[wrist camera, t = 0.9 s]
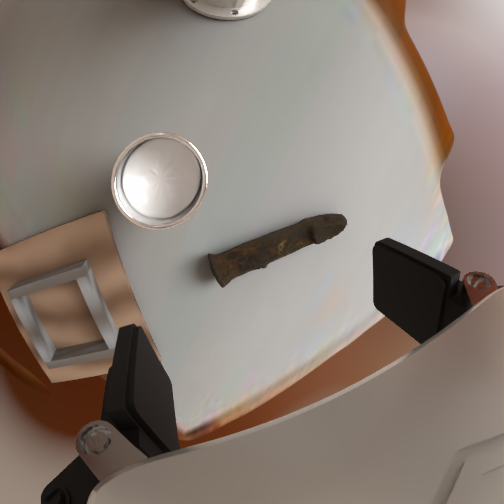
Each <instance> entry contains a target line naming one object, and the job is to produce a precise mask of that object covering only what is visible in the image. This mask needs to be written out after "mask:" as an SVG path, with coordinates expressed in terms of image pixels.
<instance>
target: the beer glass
mask: <svg viewBox="0 0 504 504" xmlns="http://www.w3.org/2000/svg"><path fill="white" fill-rule="evenodd" d="M207 186H208V173H207V168H206V164H205V161H204V159H203V157H202V155H201V153H200V152H199V151H198V149H197V148H196V147H195V146H194V145H193V144H192V143H191V142H189V141H188V140H187V139H185V138H183V137H181V136H179V135H176V134H172V133H167V132H156V133H150V134H147V135H144V136H141V137H139V138H137V139H136V140H134V141H133V142H131V143H130V144H129V145H128V146H127V147H126V148H125V149H124V150H123V151H122V152H121V154H120V155H119V157H118V158H117V160H116V162H115V165H114V168H113V171H112V177H111V189H112V195H113V198H114V201H115V203H116V205H117V207H118V209H119V210H120V212H121V213H122V214H123V215H124V216H125V217H126V218H127V219H128V220H129V221H131V222H132V223H134V224H136V225H137V226H140V227H142V228H146V229H151V230H165V229H170V228H173V227H176V226H178V225H180V224H182V223H184V222H185V221H187V220H188V219H189V218H190V217H192V216H193V215H194V213H195V212H196V211H197V210H198V209H199V207H200V205H201V204H202V202H203V200H204V197H205V195H206V191H207Z"/></svg>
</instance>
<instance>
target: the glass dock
mask: <svg viewBox="0 0 504 504" xmlns="http://www.w3.org/2000/svg"><path fill="white" fill-rule="evenodd" d="M0 291H1V294H2V296H3V298H4V300H5V302H6V305H7V307H8V309H9V311H10V313H11V315H12V317H13V319H14V321H15V323H16V325H17V327H18V328H19V330H20V332H21V334H22V336H23V337H24V339H25V341H26V343H27V344H28V346H29V348H30V350H31V351H32V353H33V354H34V356H35V358H36V359H37V361H38V362H39V364H40V366H41V367H42V368H43V370H44V372H45V373H46V375H47V376H48V378H49V379H50V380H51V382H52V383H56V382H62V381H69V380H75V379H80V378H86V377H92V376H97V375H102V374H107V373H108V370H109V368H110V367H111V366H112V362H113V356H114V351H115V346H116V341H117V336H118V331H119V328H120V327H123V326H126V325H130V324H133V323H134V324H135V325H136V326H141V327H142V328H143V330H144V332H145V334H146V336H147V338H148V340H149V342H150V344H151V346H152V348H153V349H154V351H155V353H156V355H157V357H158V359H159V361H160V362H161V356H160V354H159V352H158V350H157V348H156V346H155V343H154V341H153V339H152V337H151V335H150V332H149V330H148V328H147V325H146V323H145V321H144V319H143V316H142V314H141V311H140V309H139V307H138V304H137V302H136V299H135V297H134V294H133V291H132V289H131V286H130V284H129V281H128V278H127V275H126V273H125V270H124V267H123V264H122V261H121V259H120V256H119V253H118V250H117V247H116V244H115V240H114V237H113V234H112V231H111V228H110V224H109V221H108V217H107V214H106V210H102V211H99V212H96V213H93V214H90V215H87V216H85V217H82V218H79V219H76V220H73V221H71V222H68V223H65V224H62V225H60V226H57V227H54V228H52V229H49V230H47V231H44V232H42V233H39V234H37V235H34V236H32V237H29V238H27V239H24V240H22V241H20V242H17V243H15V244H13V245H10V246H8V247H6V248H4V249H1V250H0Z"/></svg>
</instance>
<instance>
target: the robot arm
mask: <svg viewBox="0 0 504 504" xmlns="http://www.w3.org/2000/svg"><path fill="white" fill-rule="evenodd" d="M183 1H184V2H185V4H186V5H187V6H189V7H190V8H191V9H192V10H194V11H196V12H198V13H199V14H202V15H204V16H207V17H210V18H215V19H221V20H239V19H245V18H248V17H251V16H254V15H256V14H258V13H260V12H261V11H262V10H263V9H265V8H266V6H267V5H268V4H269V2H270V1H271V0H183ZM233 14H234V15H233ZM459 277H460V271H459V270H457V269H455V268H453V267H451V266H449V265H447V264H445V263H442V262H441V261H439V260H436V259H434V258H432V257H430V256H428V255H426V254H424V253H422V252H419V251H417V250H415V249H413V248H411V247H408V246H406V245H404V244H402V243H400V242H397V241H395V240H393V239H390V238H385V239H383V240H380V241H377V242H376V243H375V246H374V247H373V302H374V305H375V307H376V309H377V310H379V311H380V312H381V313H382V314H384V315H385V316H386V317H388V318H389V319H390V320H391V321H393V322H394V323H395V324H396V325H398V326H399V327H400V328H401V329H403V330H404V331H405V332H406V333H408V334H409V335H410V336H411V337H413V338H414V339H415V340H416V341H418V342H419V343H420V344H421V345H420V346H418V347H416V348H415V349H413V350H412V351H410V352H409V353H407V354H405V355H404V356H402V357H401V358H399V359H397V360H396V361H394V362H393V363H391V364H389V365H387V366H386V367H384V368H382V369H381V370H379V371H377V372H375V373H374V374H372V375H370V376H368V377H366V378H364V379H363V380H361V381H359V382H357V383H355V384H353V385H351V386H349V387H347V388H345V389H343V390H341V391H339V392H337V393H335V394H333V395H331V396H329V397H327V398H325V399H323V400H320V401H319V402H316V403H314V404H311V405H309V406H307V407H305V408H302V409H300V410H298V411H295V412H293V413H290V414H288V415H286V416H283V417H280V418H278V419H275V420H272V421H270V422H267V423H264V424H261V425H259V426H256V427H253V428H250V429H247V430H244V431H241V432H238V433H235V434H232V435H229V436H225V437H222V438H219V439H216V440H212V441H208V442H205V443H201V444H197V445H194V446H189V447H186V448H182V449H180V447H179V441H178V434H177V426H176V418H175V410H174V401H173V391H172V384H171V381H170V378H169V377H168V375H167V373H166V371H165V370H164V368H163V366H162V364H161V362H160V361H159V359H158V357H157V355H156V353H155V351H154V349H153V348H152V346H151V344H150V342H149V340H148V338H147V336H146V334H145V332H144V330H143V328H142V327H141V326H136V325H135V324H134V323H133V324H130V325H126V326H123V327H120V328H119V331H118V336H117V341H116V346H115V351H114V356H113V362H112V366H111V367H110V368H109V370H108V375H107V381H106V387H105V393H104V400H103V408H102V416H101V420H100V421H93V422H91V423H89V424H87V425H86V426H84V427H83V428H82V429H81V430H80V431H79V433H78V435H77V437H76V441H75V447H76V450H77V452H78V454H79V456H78V457H77V458H76V459H75V460H74V461H72V463H70V464H69V465H68V466H67V467H66V468H65V469H64V470H63V471H62V472H61V473H60V474H59V475H58V476H57V477H56V478H54V479H53V481H52V482H50V483H49V484H48V485H47V486H46V487H45V489H44V490H43V492H42V495H41V504H504V286H497V284H496V282H495V280H494V279H493V278H492V277H491V276H490V275H488V274H486V273H483V272H477V271H474V272H469V273H466V274H465V275H464V277H463V280H462V282H461V281H459Z"/></svg>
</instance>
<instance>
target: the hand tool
mask: <svg viewBox="0 0 504 504" xmlns="http://www.w3.org/2000/svg"><path fill="white" fill-rule="evenodd" d="M346 225H347V220H346V218H345V217H344V216H343V215H342V214H325V215H318V216H315V217H310V218H306V219H304V220H302V221H301V223H299V224H296V225H293V226H291V227H288V228H285V229H282V230H280V231H276V232H273V233H271V234H269V235H267V236H264V237H262V238H259V239H256V240H253V241H250V242H247V243H244V244H242V245H241V246H238V247H236V248H234V249H232V250H229V251H227V252H224V253H221V254H219V255H213V254H209V255H208V257H209V262H210V266H211V269H212V272H213V275H214V277H215V278H216V280H217V282H218V283H219V284H220V286H221V287H222V288H223V287H225V286H226V285H227V284H228V283H230V281H231V280H232V279H234V278H236V277H238V276H241V275H243V274H245V273H247V272H249V271H252V270H256V269H260V268H266V266H267V265H268V264H269V263H270V262H273V261H275V260H277V259H279V258H282V257H284V256H286V255H288V254H291V253H293V252H295V251H297V250H299V249H301V248H303V247H306V246H308V245H311V244H313V243H315V244H320V243H322V242H324V241H326V240H327V239H331V238H333V237H334V236H336V235H338V234H339V233H340V232H341V231H343V230H344V228H345V227H346Z"/></svg>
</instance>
